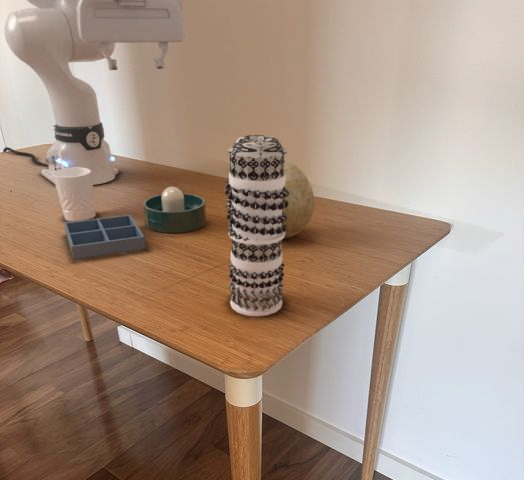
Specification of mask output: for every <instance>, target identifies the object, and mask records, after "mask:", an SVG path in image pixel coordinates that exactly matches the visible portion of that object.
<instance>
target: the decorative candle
mask: <svg viewBox="0 0 524 480" xmlns="http://www.w3.org/2000/svg"><path fill="white" fill-rule="evenodd" d="M227 152H228V154H229V173H228V179H226V181H225V182H224V185H225V189H224V190H223V191H224V194H225V195H226V198H227V200H226V205H225V209H227V213H226V214H225V218H226V219H227V222H228V228H227V232H228V236H229V238H230V239H231V251H230V261H229V264H228V268H229V271H230V273H228V277H229V278H230V282H229V283H228V288H229V289H230V290H229V291H230V292H229V293H228V295H229V298H230V302H229V304H230V306H231V309H232V310H233V311H235V312H236V313H238V314H241V315H244V316H249V317H264V316H269V315H272V314H275V313H277V312H278V311H280V309H282V306H283V296H284V292H283V290H284V288H283V287H284V286H285V284H284V283H283V282H282V281H283V280H284V276H285V273H284V268H285V263H284V262H283V253H284V252H283V251H282V247H283V246H282V245H283V241H282V240H283V239H285V238H284V236H285V231H286V228H287V226H286V225H284V224H283V222H284V221H286V220H287V215H286V214H284V213H283V211H282V209H284V208H286V207H288V204H289V202H288V201H287V200H285V199H283V198H285V197H287V196H288V195H289V191H288V190H287V189H286V188H285V187H284V185H285V178H286V174H285V173H284V166H285V162H286V160H285V156H286V154H287V153H288V150H287V148H285V147H283V145H282V143H281V142H280V140H278V138H276V137H274V136H270V135H264V134H250V135H243V136H239V137H238V138H237V139H236V141H234V144H233V145H232V147H230V148H228V149H227ZM283 187H284V188H283Z"/></svg>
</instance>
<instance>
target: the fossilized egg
mask: <svg viewBox="0 0 524 480" xmlns="http://www.w3.org/2000/svg"><path fill="white" fill-rule="evenodd" d="M284 173H285V174H286V178H285V185H284V187H285V188H286V189H287V190H288V191H289V195H288V196H287V197H285V198H283V199H285V200H287V201H288V202H289V204H288V207H286V208H284V209H282V211H283V213H284V214H286V215H287V220H286V221H284V222H283V224H284V225H286V226H287V228H286V231H285V236H284V238H283V239H289V238H292V237H294V236H297V235H298V234H300V233H301V232H302V231H303V230H304V229H305V228H306V227H307V225H308V224H309V223H310V221H311V219H312V217H313V213H314V208H315V196H314V191H313V188H312V185H311V183H310V181H309V179H308V177H307V175H305V173H304V172H303V171H302V170H301V169H300V168H299V167H298V166H297V165H296V164H294V163H292V162H289V161H285V166H284ZM284 187H283V188H284Z"/></svg>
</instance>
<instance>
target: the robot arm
mask: <svg viewBox="0 0 524 480" xmlns="http://www.w3.org/2000/svg"><path fill="white" fill-rule="evenodd" d="M26 1H27V2H28V3H30V4H31V5H33V6H34V7H33V8H32V7H29V8H25V9H20V10H15V11H13V12H10V13H8V16H7V17H6V19H5V22H4V37H5V41H6V43H7V46H8V47H9V49H10V50H11V52H12V54H13V55H14V56H15V57H16V58H18V60H20V61H22V62H23V63H24V64H26V65H27V66H28V67H30V68H31V69H32V70H33V72H35V73H36V75H37V76H38V77H39V78H40V80H41V81H42V83H43V85H44V87H45V88H46V92H47V93H48V97H49V99H50V103H51V107H52V111H53V115H54V116H53V117H54V121H55V124H54V125H52V127H54V128H53V131H54V138H55V141H54V142H53V144H52V145H51V147H50V148H49V149H48V150H47V152H46V156H45V157H44V160H45V163H43V162H40V161H39V160H36V159H35V158H36V157H35V154H33V153H30V152H24V151H17V150H14V149H13V148H11V147H8V146H6V147H4V148H3V150H2V152H3V153H7V151H9V152H11V153H13V154H15V155H20V156H26V157H27V156H28V157H30V159H31V162H33V164H34V163H35V164H37V165H38V166H42V167H46V168H44V169H42V170H40V173H41V176H43V177H45V178H46V179H47V180H48V181H50V182H51V183H53V184H54V185H55V182H54V178H53V174H52V173H53V172H54V171H56V170H59V169H64V168H73V167H80V168H87V169H90V170H91V175H92V183H93V186H95V185H100V184H101V185H102V184H105V183H109V182H112V181H113V180H115V179H116V175H118V174H119V169H118V168H115V165H114V162H115V157H114V156H112V152H111V147H110V144H109V143H108V142H107V141H106V140H105V139H104V138H105V129H104V126H103V123H102V122H101V116H100V109H99V104H98V98H97V93H96V91H95V90H94V88H93V87H92V86H91V85H90V84H89V83H88V82H86V81H84V80H82V79H81V78H78V77H76V76H74V74H73V73H72V71H71V69H70V63H86V62H87V63H89V62H92V63H93V62H96V61H97V62H98V61H101V60H104V59H106V61H107V67H108V70H109V71H118V66H117V65H118V62H117V59H115V58H112V57H111V56H112V55H113V53H114V51H115V50H116V49H115V48H116V44H117V43H118V44H119V43H121V44H122V43H123V44H124V43H126V44H127V43H128V44H129V43H135V44H136V43H157V44H158V48H159V49H160V52H159V55H158V57H156V58H154V63H155V64H154V68H155V69H157V70H164V69H165V58H166V55H167V53H168V52H169V43H182V42H183V41H184V40H185V37H186V33H185V25H184V19H183V13H182V11H183V7H184V4H183V0H26ZM35 7H36V8H35Z"/></svg>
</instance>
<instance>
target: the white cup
mask: <svg viewBox="0 0 524 480" xmlns="http://www.w3.org/2000/svg"><path fill="white" fill-rule="evenodd" d="M52 174H53V178H54V182H55V184H54V185H55V189H56V194H57V196H58V200H59V203H60V207H61V208H62V213H63V217H64V219H65V220H66V221H67V222H75V221H83V220H91V219H94V217H96V216H97V213H96V201H95V192H94V185H93V183H92V175H91V170H90V169H87V168H80V167H73V168H64V169H59V170H56V171H54V172H53V173H52Z"/></svg>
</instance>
